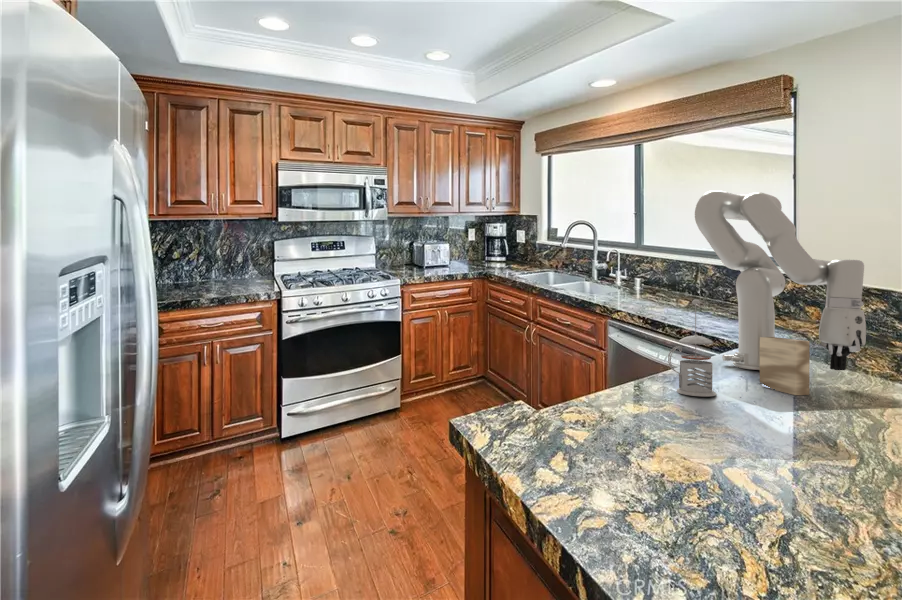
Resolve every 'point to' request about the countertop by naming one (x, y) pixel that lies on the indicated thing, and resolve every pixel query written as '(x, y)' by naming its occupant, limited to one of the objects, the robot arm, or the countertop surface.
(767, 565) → the countertop surface
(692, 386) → the french press
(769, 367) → the maple block
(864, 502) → the countertop surface
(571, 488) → the countertop surface
